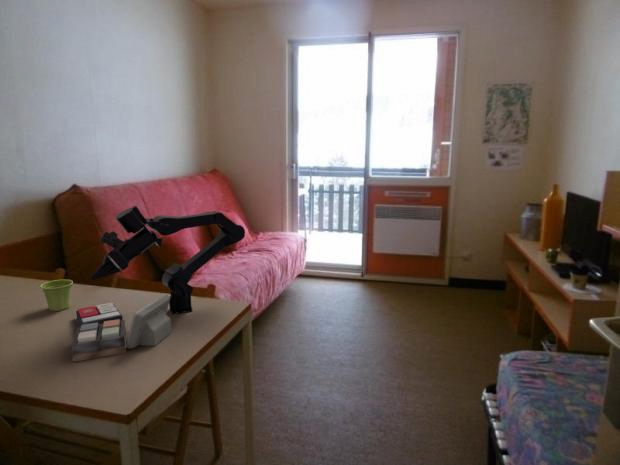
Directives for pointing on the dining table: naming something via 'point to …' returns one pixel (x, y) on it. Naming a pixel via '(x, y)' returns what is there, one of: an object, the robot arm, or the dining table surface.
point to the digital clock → (150, 324)
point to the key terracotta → (111, 324)
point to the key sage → (110, 332)
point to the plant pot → (57, 294)
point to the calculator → (98, 314)
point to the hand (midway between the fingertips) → (91, 278)
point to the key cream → (87, 336)
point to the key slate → (89, 327)
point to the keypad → (99, 345)
